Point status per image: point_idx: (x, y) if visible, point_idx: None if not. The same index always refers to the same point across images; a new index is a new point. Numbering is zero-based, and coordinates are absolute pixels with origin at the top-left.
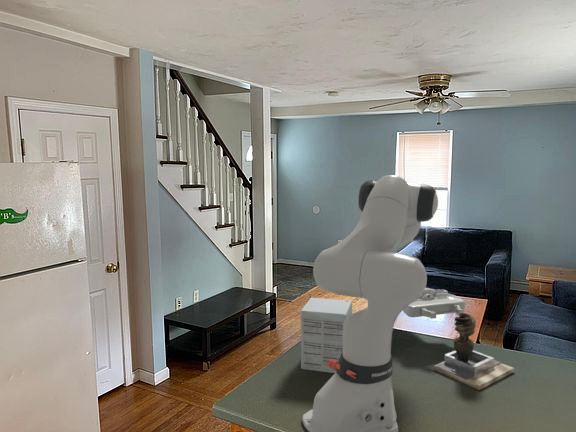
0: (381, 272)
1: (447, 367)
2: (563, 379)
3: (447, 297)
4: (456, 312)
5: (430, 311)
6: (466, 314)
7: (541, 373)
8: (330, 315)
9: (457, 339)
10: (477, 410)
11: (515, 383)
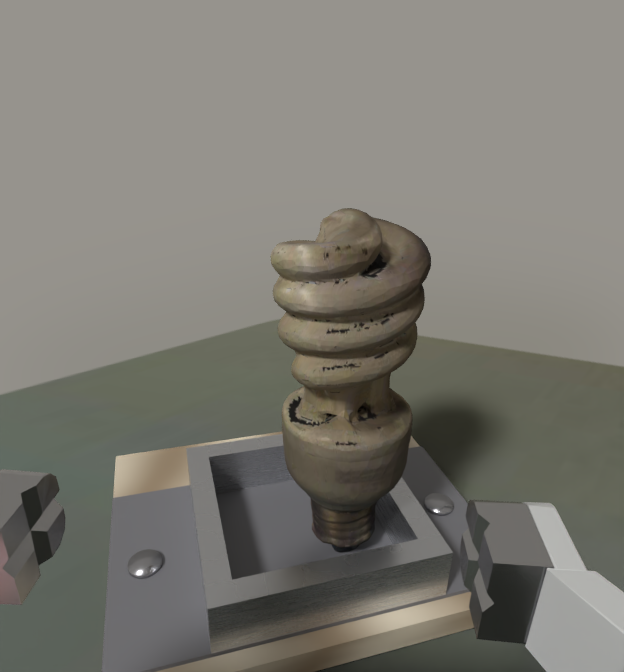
0: None
1: (456, 541)
2: (21, 401)
3: None
4: (27, 558)
5: (557, 560)
6: (354, 209)
7: (28, 440)
8: None
9: (382, 423)
10: (472, 378)
11: (215, 425)
